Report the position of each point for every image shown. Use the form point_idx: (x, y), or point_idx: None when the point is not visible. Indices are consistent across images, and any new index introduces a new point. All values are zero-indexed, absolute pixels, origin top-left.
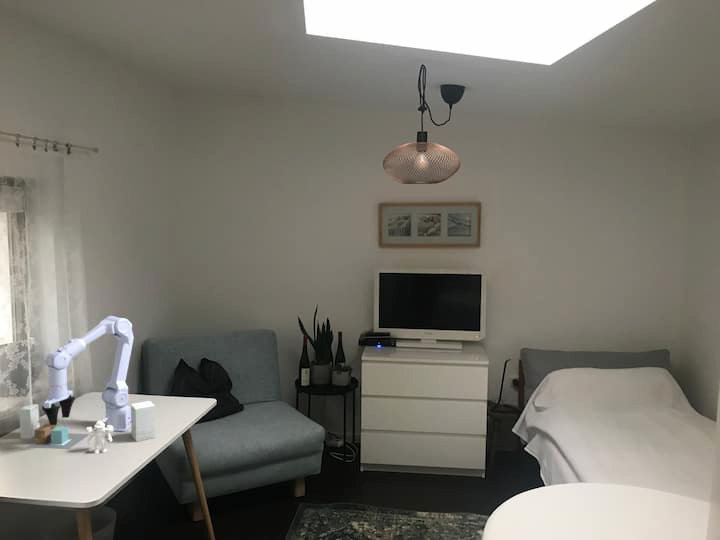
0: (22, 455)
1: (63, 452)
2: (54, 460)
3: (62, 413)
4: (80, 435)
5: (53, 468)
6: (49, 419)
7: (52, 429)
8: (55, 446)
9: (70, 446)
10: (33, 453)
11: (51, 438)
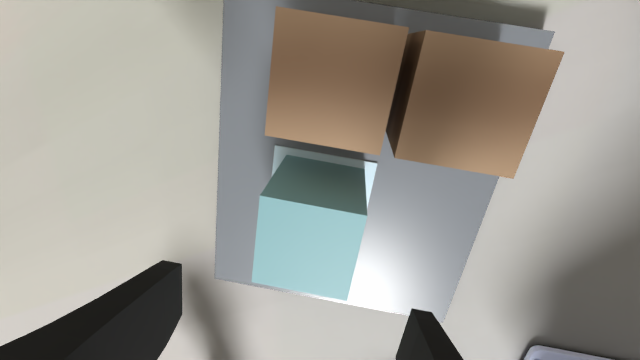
0: (139, 12)
1: (210, 245)
2: (108, 237)
3: (424, 347)
4: (429, 277)
5: (30, 264)
6: (108, 305)
7: (284, 200)
8: (246, 195)
9: (248, 276)
10: (179, 76)
11: (276, 170)
